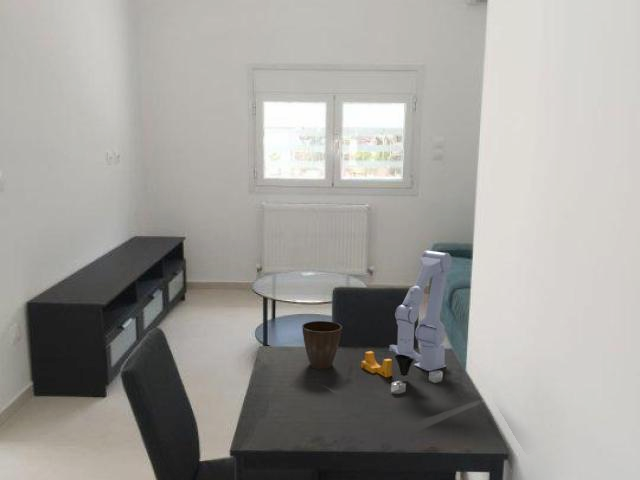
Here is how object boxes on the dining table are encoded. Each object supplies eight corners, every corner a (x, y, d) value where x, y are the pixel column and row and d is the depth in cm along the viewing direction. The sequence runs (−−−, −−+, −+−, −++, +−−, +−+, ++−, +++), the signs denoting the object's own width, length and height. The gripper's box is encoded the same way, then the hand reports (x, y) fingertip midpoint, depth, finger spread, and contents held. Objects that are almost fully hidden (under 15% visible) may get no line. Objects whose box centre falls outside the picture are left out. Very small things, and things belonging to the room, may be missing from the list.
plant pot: (304, 359, 235) (305, 319, 232) (342, 361, 233) (343, 321, 230) (298, 372, 220) (298, 330, 218) (338, 375, 218) (339, 332, 216)
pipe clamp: (361, 369, 225) (361, 353, 224) (369, 367, 227) (370, 351, 226) (382, 379, 215) (383, 362, 214) (391, 376, 218) (392, 359, 217)
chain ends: (437, 377, 217) (438, 369, 217) (443, 380, 215) (444, 372, 214) (389, 391, 203) (389, 383, 203) (395, 394, 201) (395, 386, 200)
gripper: (383, 335, 216) (382, 371, 217) (412, 345, 204) (410, 383, 206) (397, 332, 220) (396, 367, 222) (426, 342, 208) (424, 379, 210)
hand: (404, 375), depth 214 cm, fingers closed
